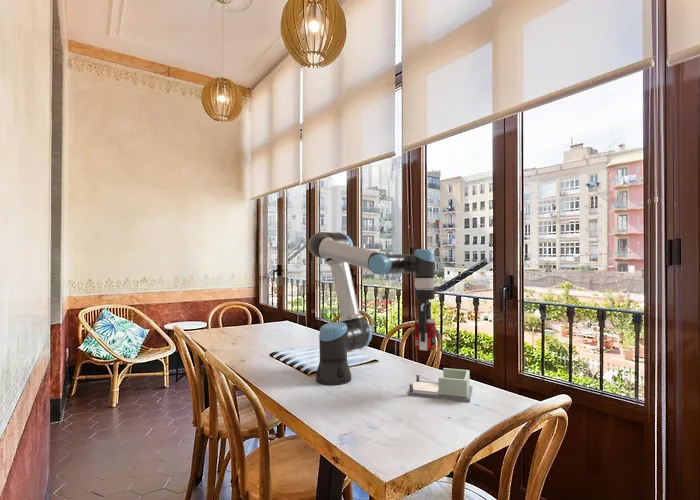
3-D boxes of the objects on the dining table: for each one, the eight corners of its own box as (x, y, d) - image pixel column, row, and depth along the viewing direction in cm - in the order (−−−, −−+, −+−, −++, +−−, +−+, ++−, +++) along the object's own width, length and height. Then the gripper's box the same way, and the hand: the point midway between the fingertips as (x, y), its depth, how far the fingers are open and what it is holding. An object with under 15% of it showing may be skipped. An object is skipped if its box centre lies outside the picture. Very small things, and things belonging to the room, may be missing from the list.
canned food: (435, 350, 156) (435, 321, 156) (414, 350, 158) (414, 321, 158) (435, 346, 164) (435, 318, 164) (415, 345, 165) (415, 318, 165)
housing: (438, 394, 152) (438, 377, 152) (443, 383, 165) (443, 368, 165) (466, 397, 148) (466, 380, 148) (469, 385, 162) (469, 370, 162)
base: (408, 395, 155) (408, 385, 155) (416, 383, 169) (416, 374, 169) (469, 402, 148) (469, 391, 148) (472, 389, 162) (472, 379, 162)
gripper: (430, 291, 150) (430, 354, 150) (438, 287, 169) (438, 343, 169) (409, 290, 153) (410, 352, 152) (420, 286, 172) (420, 341, 172)
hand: (425, 347), depth 161 cm, fingers closed on canned food, 8 cm apart
